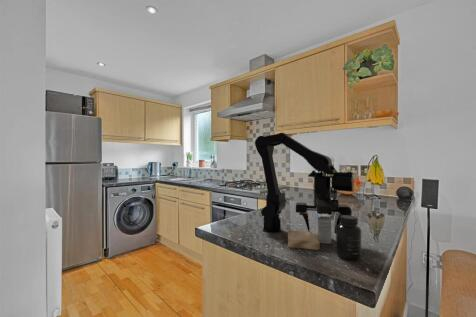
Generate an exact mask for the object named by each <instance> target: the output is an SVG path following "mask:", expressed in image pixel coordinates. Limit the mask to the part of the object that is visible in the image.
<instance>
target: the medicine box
mask: <svg viewBox="0 0 476 317" xmlns="http://www.w3.org/2000/svg"><path fill="white" fill-rule="evenodd" d="M315 232H316V234H317V236H318V239H319V242H320V244H327V245H329V244H332V219H331V218H330V216H329V215H328V214H318V213H315Z"/></svg>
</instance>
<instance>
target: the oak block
mask: <svg viewBox="0 0 476 317" xmlns="http://www.w3.org/2000/svg"><path fill="white" fill-rule="evenodd" d="M320 244H321V243H320V242H319V239H318V236H317V234H316V231H304V230H293V229H292V230H291V229H288V230H287V248H295V249H297V248H298V249H299V248H300V249H305V250H307V249H308V250H317V251H319V250H320V247H321V246H320Z"/></svg>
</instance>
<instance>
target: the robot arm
mask: <svg viewBox="0 0 476 317" xmlns="http://www.w3.org/2000/svg"><path fill="white" fill-rule="evenodd" d="M254 145H255V149H256V151H257V153H258V154H259V156H260V158H261V162H262V168H263V173H264V179H265V184H266V189H267V190H266V191H267V193H266V197H265V198H266V200H265V201H266V202H265V203H266V204H265V206H264V207H263V208H262V209H261V210H260V213H261V216H262V217H263V227H262V231H263V232H272V233H279V232H280V230H281V228H282V227H281V226H282V225H281V223H282V222H281V220H282V219H281V217H280V214H282V211H283V210H284V209H285V207H286V203H287V202H288V201H287V199H286V194H285V192H281V190H280V188H279V184H278V183H279V182H278V178H277V173H276V167H275V163H274V157H273V156H274V152H275V151H274V150H275V147H277V146H279V145H284V146H285V147H287V148H288V149H290V150H291V151H293V152H294V153H296V154H297V155H299V156H301V157H302V158H303V159H304V160H306V162H307V163H308V164H309V165H310V166H311V167H312V168H313V169H314V170H312V171H311V172H310V173H309V174H308V175H307V176H308V178H310V177H311V178H313V205H309V204H307V202H296V203H295V213H298V214H299V215H300V216H302V217H303V219H304V222H305V224H306V228H307V232H310V222H309V213H308V211H312V212H313V211H316V214H327V215H328V216H329V215H333V213H335V215H334V229H333V230H334V234H336V227H337V226H338V225H339V224H341V223H340V216H342V215H350V216H353V215H352V212H353V210H352V208H351V206H348V204H339V203H340V202H339V200H338V199H332V198H331V191H332V190H331V188H332V189H334V191H337V192H339V191H340V192H351V193H353V192H354V189H355V181H354V173H353V172H352V171H348V172H347V171H345V172H343V171H342V172H341V171H338V170H337V169H336V168H335V167H334V166H333V162H332V159H331V158H330V157H329V156H328V155H325V154H322V153H320V152H317V151H316V150H315V151H314V150H312V149H310V148H309V147H307V146H305V145H304V144H302V143H300V142H299V141H298V140H296V139H294V138H293V137H291V136H290V135H289V134H287V133H285V132H278V133H275V134H269V135H266V136H265V135H260V136H258V137H256V139H255V141H254Z"/></svg>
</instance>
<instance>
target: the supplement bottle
mask: <svg viewBox="0 0 476 317" xmlns="http://www.w3.org/2000/svg"><path fill="white" fill-rule="evenodd" d="M358 220H359V217H357V216H354V215H351V216H350V215H342V216H340V224H339V225H338V226H337V227H336V235H335V240H336V241H335V242H336V248H335V250H336V251H335V252H336V256H338V258H340V259H342V260H345V261H348V262H349V261H350V262H357V261H360V260H361V258H362V229H361V227H359V226H358V225H359V221H358Z"/></svg>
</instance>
